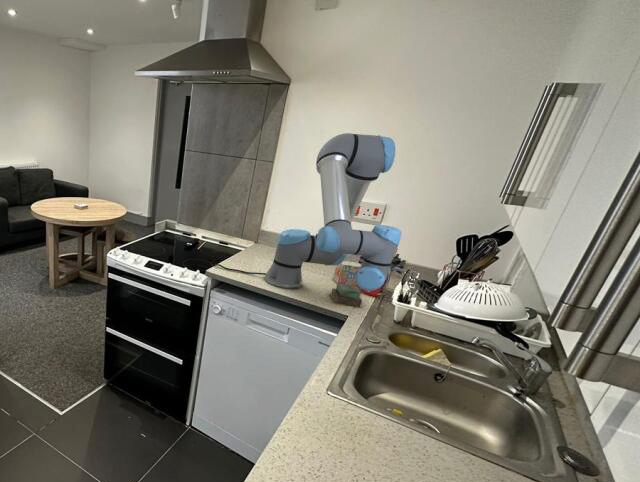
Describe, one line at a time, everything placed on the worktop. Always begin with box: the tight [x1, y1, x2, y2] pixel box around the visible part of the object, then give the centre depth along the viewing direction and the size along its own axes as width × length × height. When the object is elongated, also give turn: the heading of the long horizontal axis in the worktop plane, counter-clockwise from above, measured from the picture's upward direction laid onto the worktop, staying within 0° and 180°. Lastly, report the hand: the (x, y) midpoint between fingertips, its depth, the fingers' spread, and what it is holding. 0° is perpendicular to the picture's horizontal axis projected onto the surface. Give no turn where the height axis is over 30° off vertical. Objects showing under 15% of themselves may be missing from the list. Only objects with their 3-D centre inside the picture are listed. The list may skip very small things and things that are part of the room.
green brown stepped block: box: [330, 283, 363, 308], centre depth 158 cm, size 9×9×6 cm
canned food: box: [360, 275, 389, 298], centre depth 167 cm, size 8×8×11 cm
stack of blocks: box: [332, 260, 394, 290], centre depth 176 cm, size 21×6×12 cm, turn 84°
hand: (387, 255), depth 146 cm, fingers closed on bar, 5 cm apart
